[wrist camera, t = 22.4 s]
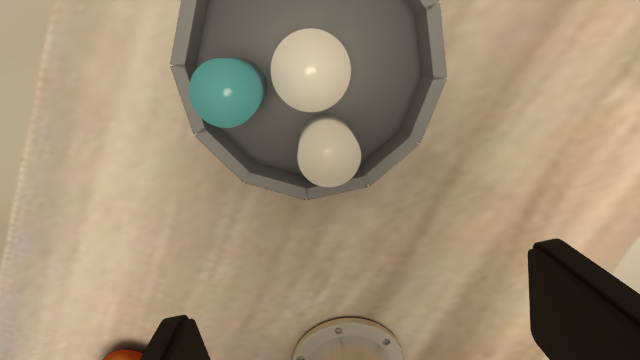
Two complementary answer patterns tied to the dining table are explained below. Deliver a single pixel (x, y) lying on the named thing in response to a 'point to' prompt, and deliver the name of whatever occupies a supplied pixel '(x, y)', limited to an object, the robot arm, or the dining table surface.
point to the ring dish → (364, 106)
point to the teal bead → (227, 91)
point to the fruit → (124, 355)
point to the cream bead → (328, 151)
